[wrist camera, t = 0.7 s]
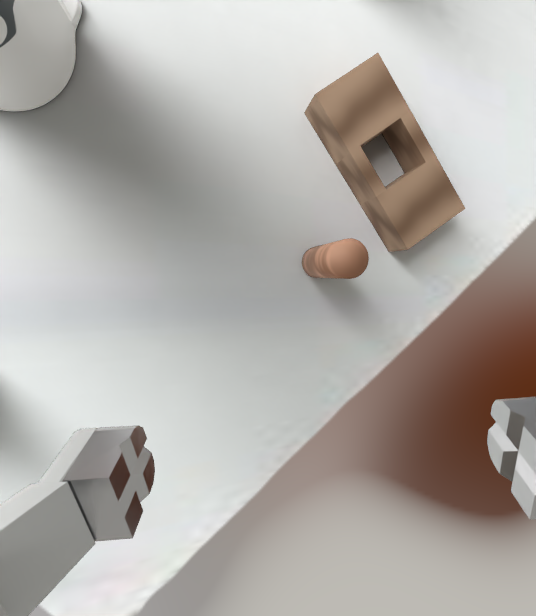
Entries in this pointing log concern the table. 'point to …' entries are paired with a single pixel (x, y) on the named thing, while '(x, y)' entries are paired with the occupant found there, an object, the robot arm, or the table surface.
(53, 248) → the table surface
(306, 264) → the peg
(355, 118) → the socket block
